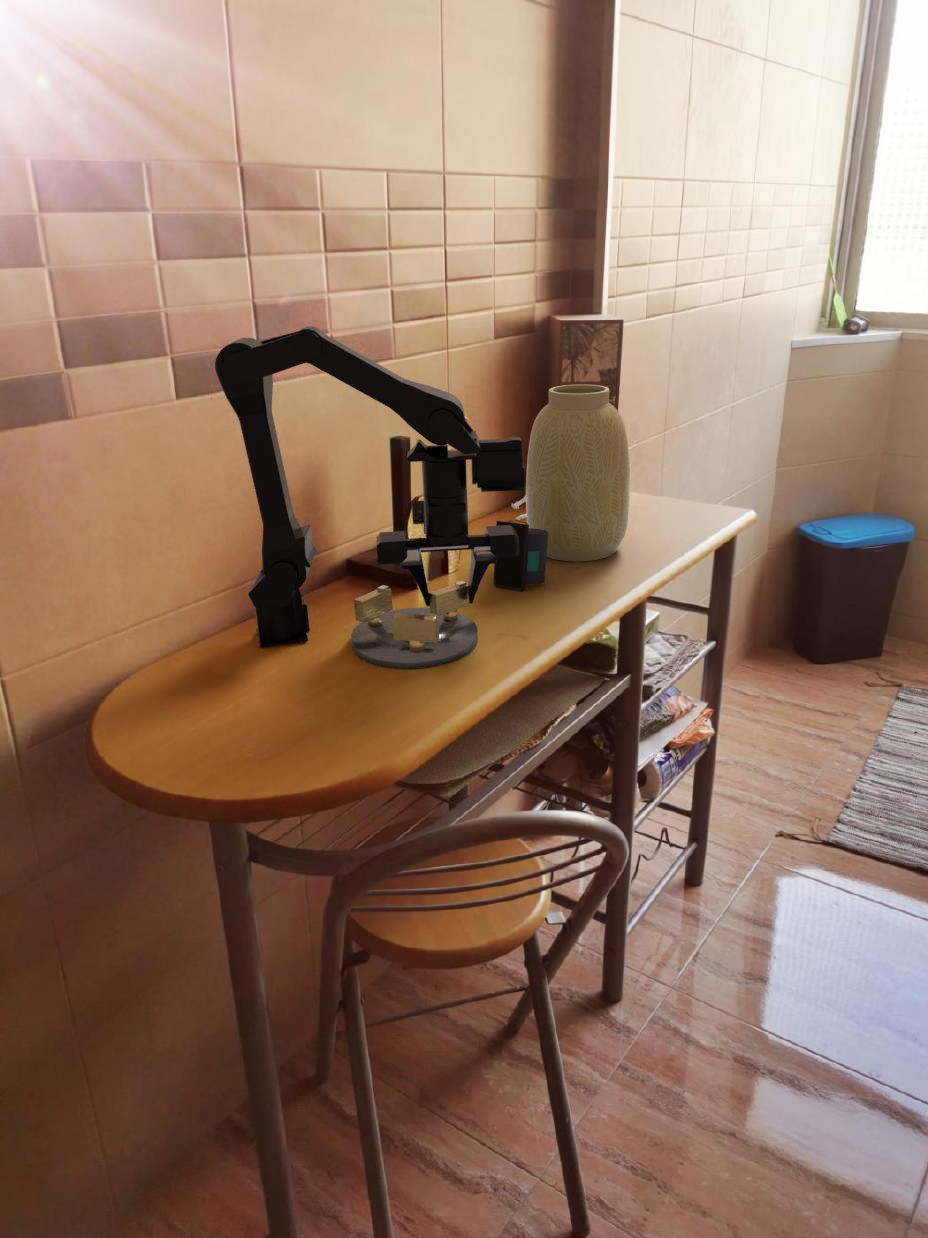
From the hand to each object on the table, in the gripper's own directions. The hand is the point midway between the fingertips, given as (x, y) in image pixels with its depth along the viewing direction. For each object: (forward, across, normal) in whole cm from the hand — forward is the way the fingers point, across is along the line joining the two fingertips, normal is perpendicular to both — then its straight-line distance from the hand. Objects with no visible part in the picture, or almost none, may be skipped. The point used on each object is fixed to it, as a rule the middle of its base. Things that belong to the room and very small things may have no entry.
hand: (449, 603), depth 127 cm
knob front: (+2, +5, +9) cm, 10 cm away
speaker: (+4, -13, -17) cm, 21 cm away
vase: (+4, -24, -31) cm, 40 cm away
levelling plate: (+4, +5, +3) cm, 7 cm away
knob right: (+2, 0, 0) cm, 2 cm away
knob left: (+2, +10, 0) cm, 11 cm away
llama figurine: (+4, -24, -46) cm, 52 cm away
